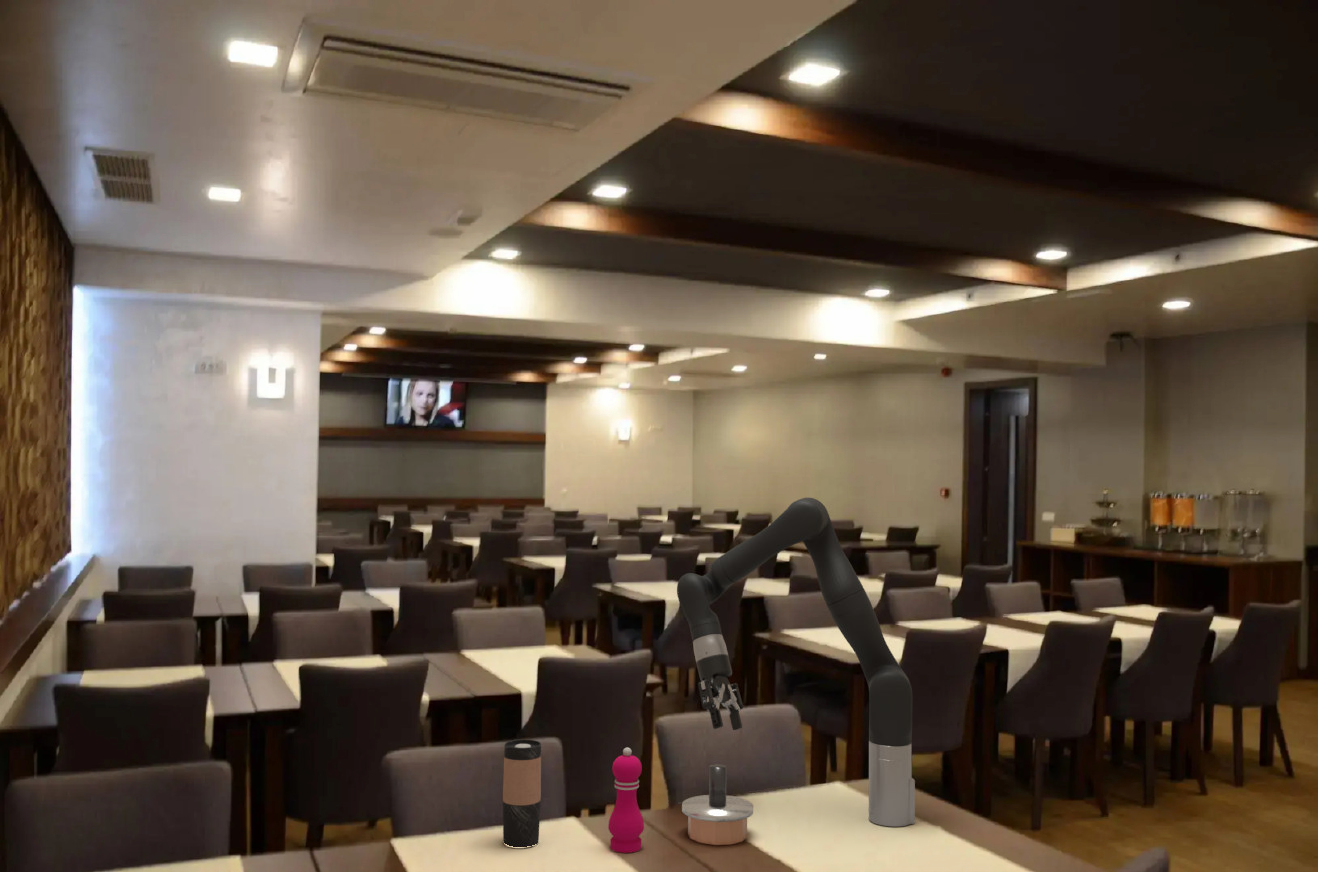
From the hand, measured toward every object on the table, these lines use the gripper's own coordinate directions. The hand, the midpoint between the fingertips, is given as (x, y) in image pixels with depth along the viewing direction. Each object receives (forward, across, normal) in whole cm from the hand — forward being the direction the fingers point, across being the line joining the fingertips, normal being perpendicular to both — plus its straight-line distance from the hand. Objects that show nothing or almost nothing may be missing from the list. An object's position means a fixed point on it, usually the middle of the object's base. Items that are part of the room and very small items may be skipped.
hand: (728, 728), depth 235 cm
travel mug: (+15, -35, +34) cm, 51 cm away
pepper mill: (+21, -25, +16) cm, 36 cm away
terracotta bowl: (+22, -8, +4) cm, 23 cm away
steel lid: (+17, -8, +2) cm, 19 cm away
